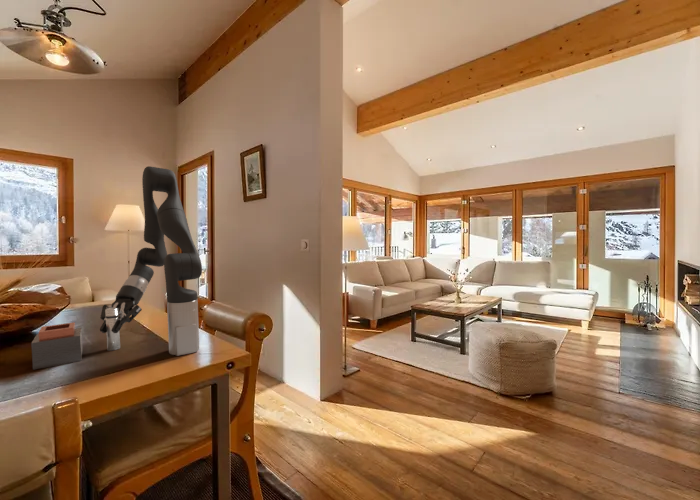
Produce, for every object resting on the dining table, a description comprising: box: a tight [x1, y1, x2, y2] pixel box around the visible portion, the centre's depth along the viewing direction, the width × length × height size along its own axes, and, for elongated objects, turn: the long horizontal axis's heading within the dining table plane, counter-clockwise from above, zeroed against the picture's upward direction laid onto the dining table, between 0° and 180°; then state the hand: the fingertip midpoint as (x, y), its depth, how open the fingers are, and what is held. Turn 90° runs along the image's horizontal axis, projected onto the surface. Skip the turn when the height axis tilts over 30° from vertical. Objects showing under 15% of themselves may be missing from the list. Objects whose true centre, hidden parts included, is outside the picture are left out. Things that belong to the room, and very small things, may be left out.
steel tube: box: [105, 308, 121, 352], centre depth 113 cm, size 4×4×14 cm
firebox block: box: [30, 321, 84, 371], centre depth 103 cm, size 11×11×10 cm
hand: (108, 331), depth 111 cm, fingers closed on steel tube, 3 cm apart
